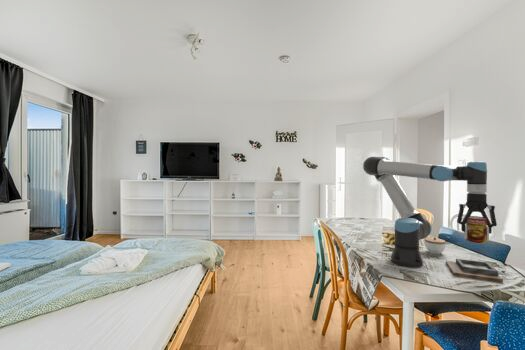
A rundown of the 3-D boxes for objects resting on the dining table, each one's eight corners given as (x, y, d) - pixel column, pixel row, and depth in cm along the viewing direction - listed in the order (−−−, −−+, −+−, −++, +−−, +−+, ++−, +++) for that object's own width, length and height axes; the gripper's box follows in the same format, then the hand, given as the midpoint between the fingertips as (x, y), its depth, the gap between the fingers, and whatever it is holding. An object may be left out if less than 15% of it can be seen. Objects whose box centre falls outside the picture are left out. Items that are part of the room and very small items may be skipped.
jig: (453, 275, 124) (454, 268, 124) (445, 263, 140) (445, 257, 140) (502, 282, 116) (503, 274, 116) (488, 268, 133) (488, 261, 133)
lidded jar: (442, 256, 152) (442, 240, 152) (421, 252, 160) (421, 237, 160) (447, 252, 159) (447, 237, 159) (427, 248, 167) (427, 234, 167)
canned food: (464, 241, 129) (465, 217, 129) (467, 238, 135) (467, 215, 134) (485, 244, 123) (485, 219, 123) (487, 241, 129) (487, 217, 129)
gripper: (453, 192, 130) (452, 238, 130) (507, 194, 121) (506, 243, 121) (449, 191, 137) (449, 235, 137) (500, 193, 128) (499, 239, 128)
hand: (476, 238), depth 129 cm, fingers closed on canned food, 8 cm apart
